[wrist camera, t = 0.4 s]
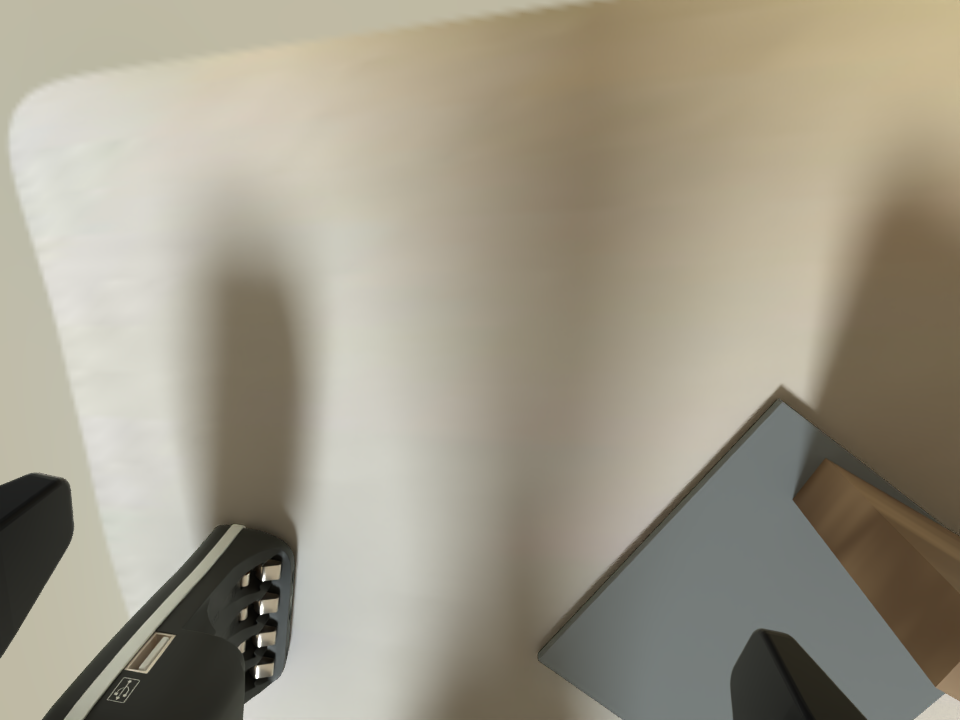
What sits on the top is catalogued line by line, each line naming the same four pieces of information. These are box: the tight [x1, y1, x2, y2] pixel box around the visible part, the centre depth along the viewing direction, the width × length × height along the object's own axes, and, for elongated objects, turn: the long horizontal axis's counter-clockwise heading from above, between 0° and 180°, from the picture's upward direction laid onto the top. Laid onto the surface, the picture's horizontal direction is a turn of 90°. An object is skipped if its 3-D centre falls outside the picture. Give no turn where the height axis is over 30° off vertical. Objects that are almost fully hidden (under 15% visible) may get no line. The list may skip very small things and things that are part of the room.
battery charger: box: [42, 524, 294, 720], centre depth 22 cm, size 7×4×11 cm, turn 172°
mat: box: [538, 398, 947, 720], centre depth 25 cm, size 13×12×1 cm
